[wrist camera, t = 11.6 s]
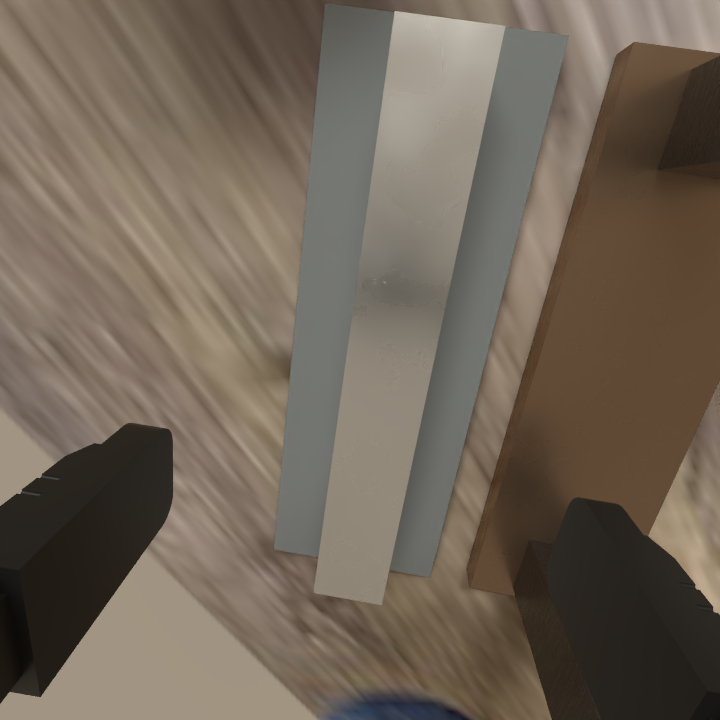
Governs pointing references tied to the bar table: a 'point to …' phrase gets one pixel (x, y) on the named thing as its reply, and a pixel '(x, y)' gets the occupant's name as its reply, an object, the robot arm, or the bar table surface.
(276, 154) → the bar table surface
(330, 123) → the rubber mat
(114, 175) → the bar table surface
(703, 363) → the cradle stand
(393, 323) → the steel rail
